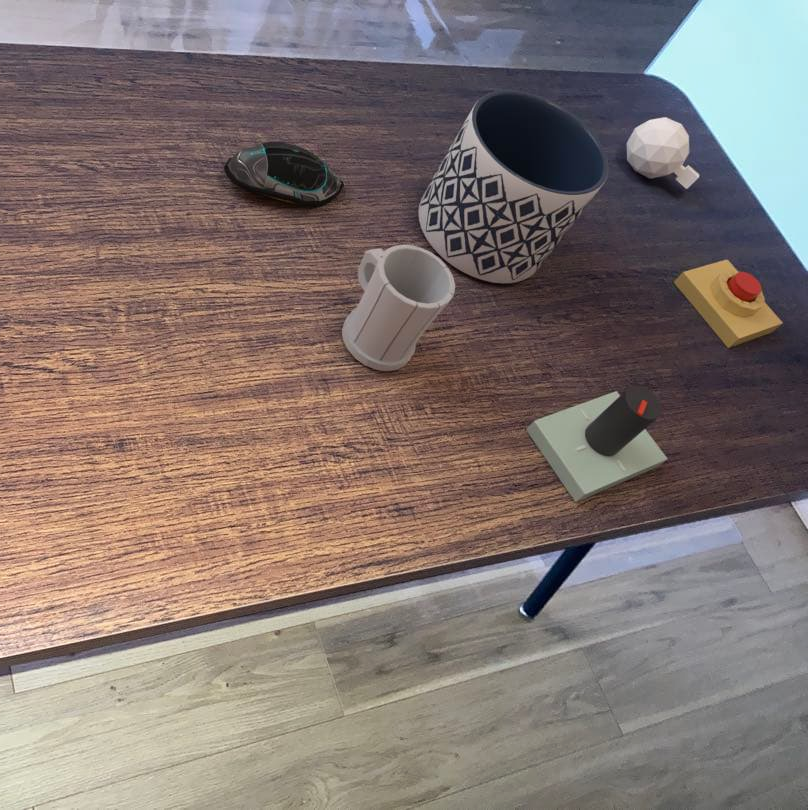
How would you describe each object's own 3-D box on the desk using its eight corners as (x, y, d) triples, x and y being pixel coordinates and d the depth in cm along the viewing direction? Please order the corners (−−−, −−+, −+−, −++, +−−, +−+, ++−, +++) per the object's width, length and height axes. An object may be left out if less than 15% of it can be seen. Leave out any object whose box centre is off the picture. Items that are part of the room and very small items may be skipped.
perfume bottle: (608, 156, 138) (668, 209, 137) (655, 107, 132) (718, 163, 131) (616, 146, 145) (672, 197, 144) (661, 100, 139) (720, 152, 138)
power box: (771, 332, 128) (792, 315, 125) (728, 348, 123) (748, 330, 120) (717, 269, 133) (735, 250, 129) (673, 282, 128) (691, 263, 125)
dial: (591, 416, 106) (633, 376, 100) (623, 438, 106) (667, 399, 99) (580, 441, 104) (622, 402, 97) (613, 463, 103) (658, 425, 96)
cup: (316, 342, 104) (353, 273, 94) (343, 292, 109) (380, 223, 99) (398, 386, 103) (442, 321, 94) (421, 334, 109) (465, 268, 99)
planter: (389, 208, 120) (442, 108, 107) (475, 171, 129) (533, 76, 116) (482, 305, 114) (549, 213, 101) (565, 259, 124) (636, 170, 111)
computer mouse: (351, 212, 117) (367, 179, 113) (226, 208, 111) (238, 173, 107) (333, 164, 122) (348, 130, 117) (213, 158, 116) (223, 123, 111)
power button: (758, 299, 125) (767, 291, 124) (740, 304, 123) (749, 296, 122) (739, 277, 127) (748, 269, 125) (721, 282, 125) (730, 274, 124)
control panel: (607, 399, 111) (617, 389, 110) (657, 467, 108) (668, 458, 106) (525, 429, 105) (534, 419, 103) (575, 502, 101) (586, 493, 99)
